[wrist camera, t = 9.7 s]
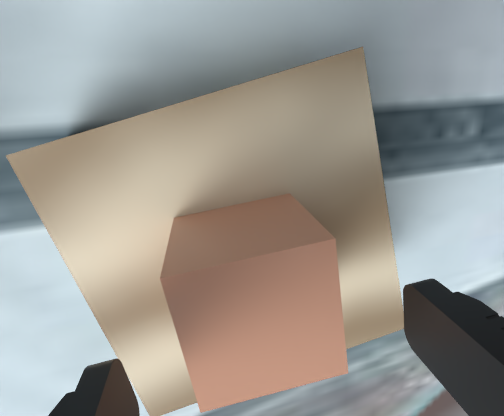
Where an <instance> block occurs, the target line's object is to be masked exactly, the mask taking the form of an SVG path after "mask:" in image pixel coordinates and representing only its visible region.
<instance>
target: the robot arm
mask: <svg viewBox="0 0 504 416" xmlns="http://www.w3.org/2000/svg"><path fill="white" fill-rule="evenodd" d="M403 306H404V331H405V335H406V338H407V340H408V343H409V345H410V346H411V348H412V350H413V351H414V352H415V353H416V355H417V356H418V357H419V358H420V359H421V360H422V362H423V363H424V364H425V365H426V366H427V367H428V369H429V370H430V371H431V372H432V373H433V374H434V376H435V377H436V378H437V379H438V380H439V381H440V383H441V384H442V385H443V386H444V387H445V388H446V390H447V391H448V392H449V393H450V394H451V395H452V397H453V398H454V399H455V400H456V401H457V402H458V404H459V405H460V406H461V407H462V408H463V409H464V411H465V412H466V413H467V414H468V415H469V416H504V317H502V316H501V317H500V316H499V315H498V313H496V312H495V311H494V310H492V309H491V308H489V307H488V306H487V305H485V304H484V303H482V302H481V301H479V300H477V299H475V298H472V297H470V296H467V295H465V294H462V293H460V292H454V293H453V292H451V291H450V290H449V289H447V288H446V287H445V286H443V285H442V284H441V283H439V282H438V281H437V280H435V279H427V280H423V281H420V282H416V283H412V284H408V285H405V287H404V289H403ZM48 416H139V406H138V402H137V398H136V396H135V394H134V391H133V389H132V386H131V384H130V381H129V379H128V376H127V374H126V372H125V369H124V367H123V364H122V362H121V361H120V360H119V359H113V360H109V361H105V362H101V363H97V364H94V365H90V366H87V367H86V368H85V369H84V371H83V374H82V376H81V378H80V381H79V383H78V385H77V388H76V390H75V391H74V392H70V393H67V394H66V395H65V396H64V397H63V398H62V399H61V401H60V402H59V403H58V404H57V405H56V407H55V408H54V409H53V410H52V412H51V413H50V414H49V415H48Z"/></svg>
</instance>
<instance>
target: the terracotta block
mask: <svg viewBox="0 0 504 416" xmlns="http://www.w3.org/2000/svg"><path fill="white" fill-rule="evenodd" d="M160 281H161V284H162V287H163V291H164V294H165V297H166V301H167V304H168V307H169V310H170V314H171V317H172V320H173V324H174V327H175V330H176V333H177V337H178V340H179V343H180V347H181V350H182V353H183V356H184V360H185V363H186V366H187V370H188V373H189V376H190V380H191V383H192V386H193V389H194V393H195V396H196V399H197V403H198V406H199V409H200V412H205V411H209V410H213V409H216V408H220V407H224V406H227V405H231V404H235V403H239V402H242V401H246V400H250V399H254V398H257V397H261V396H265V395H268V394H272V393H276V392H280V391H283V390H287V389H291V388H294V387H298V386H302V385H306V384H309V383H313V382H317V381H320V380H324V379H328V378H332V377H335V376H339V375H343V374H347V373H348V365H347V354H346V344H345V333H344V323H343V312H342V302H341V291H340V281H339V270H338V260H337V249H336V239H335V238H334V237H333V236H332V235H331V234H330V233H329V232H328V231H327V230H326V229H325V228H324V227H323V226H322V225H321V224H320V223H319V222H318V221H317V220H316V219H315V218H314V217H313V216H312V215H311V214H310V213H309V212H308V211H307V210H306V209H305V208H304V207H303V206H302V205H301V204H300V203H299V202H298V201H297V200H296V199H295V198H294V197H293V196H292V195H291V194H290V193H288V194H284V195H279V196H274V197H269V198H265V199H260V200H255V201H251V202H246V203H241V204H236V205H232V206H227V207H222V208H218V209H213V210H208V211H203V212H199V213H194V214H189V215H185V216H180V217H175V218H174V219H173V223H172V228H171V232H170V236H169V241H168V245H167V250H166V254H165V258H164V263H163V267H162V271H161V276H160Z"/></svg>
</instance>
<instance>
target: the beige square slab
mask: <svg viewBox="0 0 504 416" xmlns="http://www.w3.org/2000/svg"><path fill="white" fill-rule="evenodd" d="M6 157H7V159H8V161H9V162H10V164H11V166H12V168H13V170H14V171H15V173H16V175H17V177H18V179H19V180H20V182H21V184H22V186H23V188H24V189H25V191H26V193H27V195H28V197H29V198H30V200H31V202H32V204H33V206H34V208H35V209H36V211H37V213H38V215H39V217H40V218H41V220H42V222H43V224H44V226H45V227H46V229H47V231H48V233H49V235H50V236H51V238H52V240H53V242H54V244H55V245H56V247H57V249H58V251H59V253H60V254H61V256H62V258H63V260H64V262H65V264H66V265H67V267H68V269H69V271H70V273H71V274H72V276H73V278H74V280H75V282H76V283H77V285H78V287H79V289H80V291H81V292H82V294H83V296H84V298H85V300H86V301H87V303H88V305H89V307H90V309H91V310H92V312H93V314H94V316H95V318H96V319H97V321H98V323H99V325H100V327H101V329H102V330H103V332H104V334H105V336H106V338H107V339H108V341H109V343H110V345H111V347H112V348H113V350H114V352H115V354H116V356H117V357H118V359H119V360H120V361H121V362H122V364H123V367H124V369H125V372H126V374H127V375H128V377H129V379H130V381H131V383H132V385H133V386H134V388H135V390H136V392H137V394H138V395H139V397H140V399H141V401H142V403H143V404H144V406H145V408H146V410H147V412H148V413H149V415H150V416H161V415H163V414H166V413H169V412H172V411H175V410H177V409H180V408H183V407H186V406H189V405H191V404H194V403H197V399H196V396H195V393H194V389H193V386H192V383H191V380H190V376H189V373H188V370H187V366H186V363H185V360H184V356H183V353H182V350H181V347H180V343H179V340H178V337H177V333H176V330H175V327H174V324H173V320H172V317H171V314H170V310H169V307H168V304H167V301H166V297H165V294H164V291H163V287H162V284H161V281H160V276H161V271H162V267H163V263H164V258H165V254H166V250H167V245H168V241H169V236H170V232H171V228H172V223H173V219H174V218H175V217H180V216H185V215H189V214H194V213H199V212H203V211H208V210H213V209H218V208H222V207H227V206H232V205H236V204H241V203H246V202H251V201H255V200H260V199H265V198H269V197H274V196H279V195H284V194H288V193H290V194H291V195H292V196H293V197H294V198H295V199H296V200H297V201H298V202H299V203H300V204H301V205H302V206H303V207H304V208H305V209H306V210H307V211H308V212H309V213H310V214H311V215H312V216H313V217H314V218H315V219H316V220H317V221H318V222H319V223H320V224H321V225H322V226H323V227H324V228H325V229H326V230H327V231H328V232H329V233H330V234H331V235H332V236H333V237H334V238H335V239H336V249H337V260H338V270H339V281H340V291H341V302H342V312H343V323H344V333H345V344H346V349H348V348H351V347H354V346H356V345H359V344H362V343H365V342H368V341H370V340H373V339H376V338H379V337H382V336H384V335H387V334H390V333H393V332H396V331H398V330H401V329H404V312H403V305H402V299H401V292H400V286H399V279H398V273H397V266H396V259H395V253H394V246H393V240H392V233H391V227H390V220H389V214H388V207H387V200H386V194H385V187H384V181H383V174H382V168H381V161H380V155H379V148H378V142H377V135H376V128H375V122H374V115H373V109H372V102H371V96H370V89H369V83H368V76H367V69H366V63H365V56H364V50H363V47H360V48H357V49H353V50H350V51H347V52H344V53H340V54H337V55H334V56H330V57H327V58H324V59H321V60H317V61H314V62H311V63H307V64H304V65H301V66H298V67H294V68H291V69H288V70H285V71H281V72H278V73H275V74H271V75H268V76H265V77H262V78H258V79H255V80H252V81H249V82H245V83H242V84H239V85H235V86H232V87H229V88H226V89H222V90H219V91H216V92H213V93H209V94H206V95H203V96H199V97H196V98H193V99H190V100H186V101H183V102H180V103H177V104H173V105H170V106H167V107H163V108H160V109H157V110H154V111H150V112H147V113H144V114H141V115H137V116H134V117H131V118H127V119H124V120H121V121H118V122H114V123H111V124H108V125H104V126H101V127H98V128H95V129H91V130H88V131H85V132H82V133H78V134H75V135H72V136H68V137H65V138H62V139H59V140H55V141H52V142H49V143H46V144H42V145H39V146H36V147H32V148H29V149H26V150H23V151H19V152H16V153H13V154H10V155H6Z"/></svg>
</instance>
